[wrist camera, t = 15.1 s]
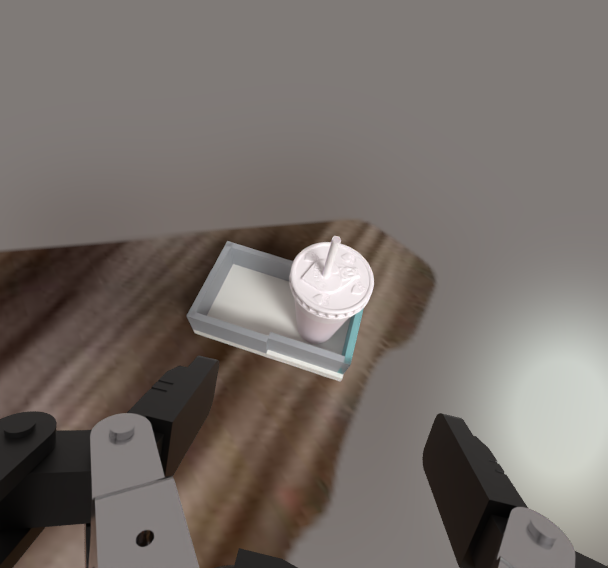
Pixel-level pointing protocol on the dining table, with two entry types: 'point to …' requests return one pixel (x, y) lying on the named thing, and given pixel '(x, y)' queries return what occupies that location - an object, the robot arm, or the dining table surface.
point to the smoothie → (328, 288)
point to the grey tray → (265, 313)
